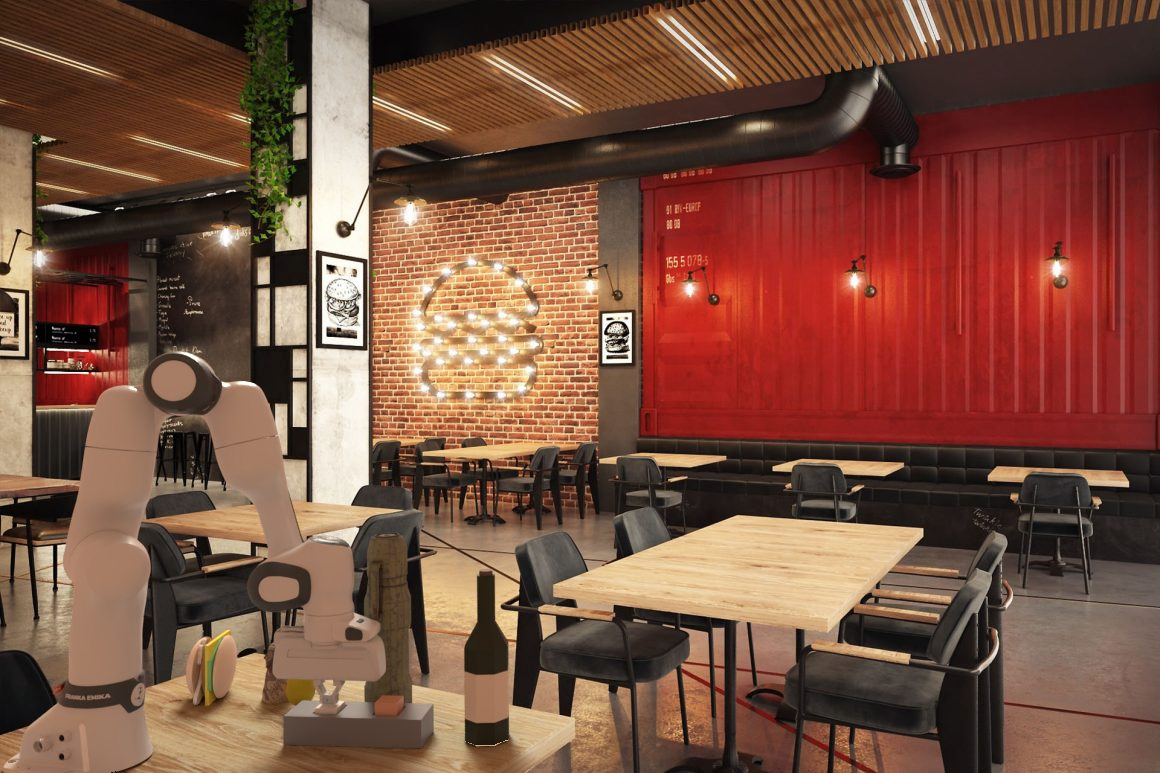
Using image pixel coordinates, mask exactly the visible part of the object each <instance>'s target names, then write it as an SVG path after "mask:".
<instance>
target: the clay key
mask: <svg viewBox="0 0 1160 773" xmlns="http://www.w3.org/2000/svg"><path fill="white" fill-rule="evenodd" d="M403 710H404V696H390V695H382V696H381V697H380V698H379V699H378V700H377V701H376V702H375V715H386V716H399V714H400V713H401V712H402V711H403Z"/></svg>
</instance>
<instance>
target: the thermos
mask: <svg viewBox="0 0 1160 773" xmlns="http://www.w3.org/2000/svg"><path fill="white" fill-rule="evenodd" d="M407 575H408V547H407V544H406V541H405V537H404V535H402V534H400V533H398V532H380V533H376V534H374V535H372V536H371V537H370V540H369V543H368V547H367V549H366V577H367V578H368V580H367V584H366V588H367V589H366V594H365V597H364V599H363V614H364V615H363V616H364V617H367V618H370V619H372V620H375V621H378V622H379V623H380V632H379V633H378V634H377V635H378V636H379V637H380V638H381V639H382V641H383V644H384V649H385V658H386V671H385V673H384V675H383V676H382V677H381V678H380V679H379V680H377V681H365V684H364V686H363V687H364V689H363V690H364V694H363V695H364V696H363V697H364V701H363V702H376V701H377V700H378V699H379V698H380V697H381V696H382V695H390V696H404V703H413V680H412V677H411V674H410V636H409V634H410V632H409V630H410V627H411V625H412V595H411V593H410V589H409V587H408V586H409V584H408V583H409V582H408V580H407Z"/></svg>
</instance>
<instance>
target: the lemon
mask: <svg viewBox="0 0 1160 773" xmlns="http://www.w3.org/2000/svg"><path fill="white" fill-rule="evenodd" d="M315 694H316V689H315V687H314V686H313V680H308V679H288V681H287V686H286V695H287V698H288V700H289V701H288V702H289V703H290V704H291V705H293V706H294V707H295V706H296V705H297V704H299V703H300V702H301V701H302V700H305V701H313V699H314V697H315Z"/></svg>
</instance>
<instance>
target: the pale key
mask: <svg viewBox="0 0 1160 773" xmlns="http://www.w3.org/2000/svg"><path fill="white" fill-rule="evenodd" d="M345 702H346V701H345V700H339V701H338V703H337V704H336V705H331V704H319V705H318V706H317V707H316V708H315V714H339V713H340V712H341V711H342V710H343V709H344V708H345Z"/></svg>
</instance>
